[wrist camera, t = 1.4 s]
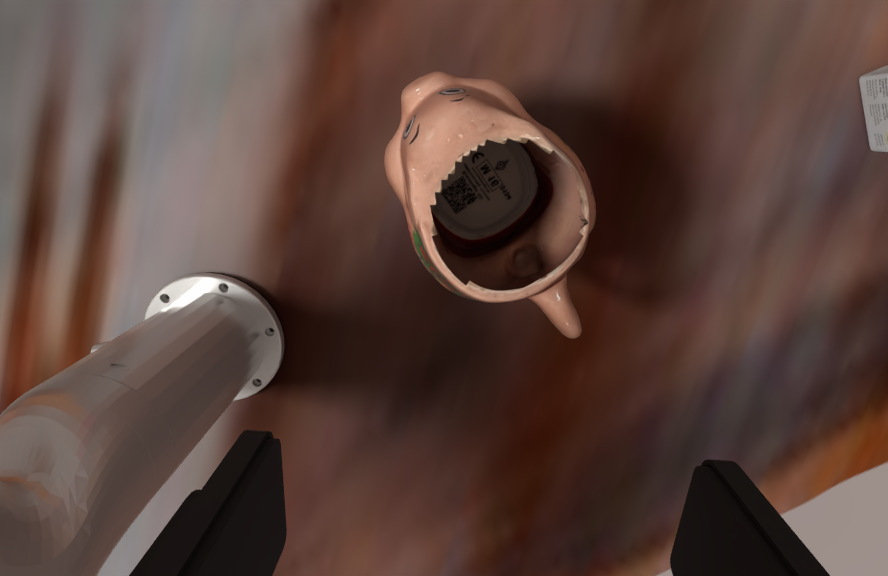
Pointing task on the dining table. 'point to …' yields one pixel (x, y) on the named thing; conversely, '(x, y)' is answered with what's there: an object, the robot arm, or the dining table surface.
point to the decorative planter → (490, 195)
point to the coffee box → (876, 107)
